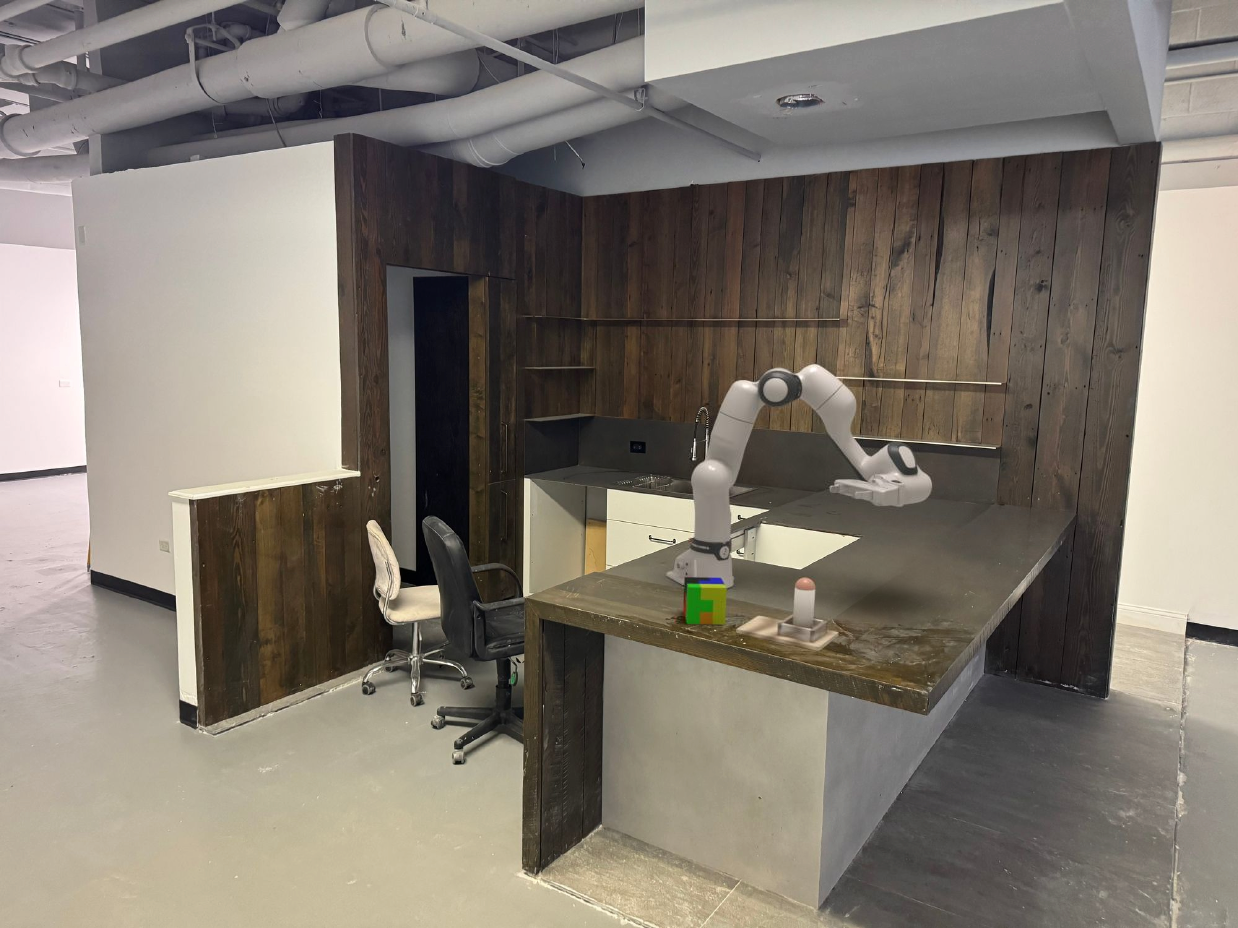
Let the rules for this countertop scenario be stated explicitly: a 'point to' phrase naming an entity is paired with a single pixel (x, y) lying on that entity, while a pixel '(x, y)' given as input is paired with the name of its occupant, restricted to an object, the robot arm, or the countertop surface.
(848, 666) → the countertop surface
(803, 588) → the dome-capped white cylinder
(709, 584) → the puzzle toy
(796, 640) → the jig cradle
